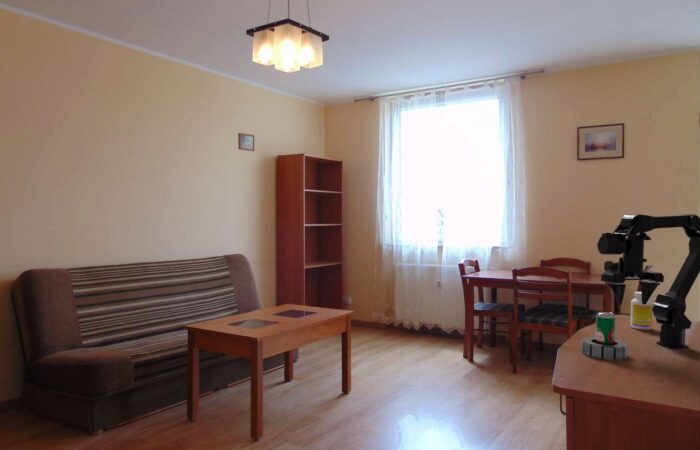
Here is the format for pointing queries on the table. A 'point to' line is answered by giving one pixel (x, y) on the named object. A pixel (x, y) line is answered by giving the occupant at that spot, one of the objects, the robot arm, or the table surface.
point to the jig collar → (604, 349)
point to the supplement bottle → (641, 313)
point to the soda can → (605, 328)
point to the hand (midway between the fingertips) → (631, 304)
